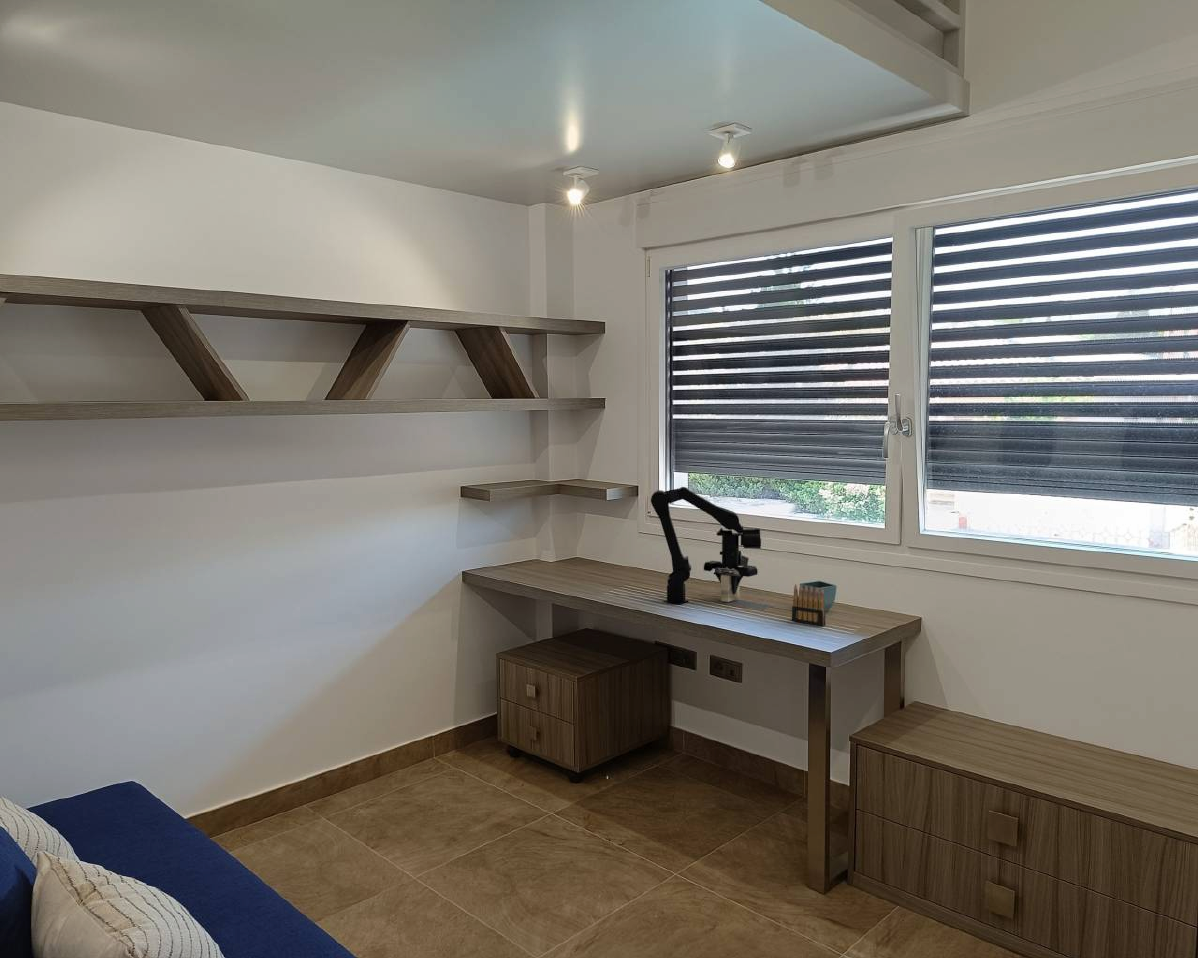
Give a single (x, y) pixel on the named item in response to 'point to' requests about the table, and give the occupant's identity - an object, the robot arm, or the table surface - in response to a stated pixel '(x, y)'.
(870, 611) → the table surface
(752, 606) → the mat
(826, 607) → the flower pot
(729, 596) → the slab
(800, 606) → the ammunition clip
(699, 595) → the table surface
